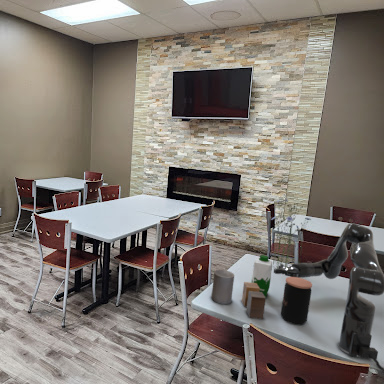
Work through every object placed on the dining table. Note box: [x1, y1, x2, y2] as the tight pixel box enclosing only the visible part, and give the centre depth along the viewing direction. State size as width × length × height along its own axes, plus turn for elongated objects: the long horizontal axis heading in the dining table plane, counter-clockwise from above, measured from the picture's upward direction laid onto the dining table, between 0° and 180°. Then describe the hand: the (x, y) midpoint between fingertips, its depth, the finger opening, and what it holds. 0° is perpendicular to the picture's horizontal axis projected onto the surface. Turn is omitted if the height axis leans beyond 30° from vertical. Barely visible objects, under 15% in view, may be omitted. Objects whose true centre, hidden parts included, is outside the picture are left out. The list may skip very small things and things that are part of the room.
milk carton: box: [251, 254, 273, 299], centre depth 174 cm, size 9×9×20 cm
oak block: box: [241, 281, 260, 308], centre depth 163 cm, size 6×6×10 cm
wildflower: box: [270, 198, 312, 269], centre depth 207 cm, size 22×23×45 cm
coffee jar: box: [280, 276, 313, 326], centre depth 150 cm, size 11×11×18 cm
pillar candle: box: [211, 269, 235, 305], centre depth 166 cm, size 10×10×15 cm
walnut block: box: [246, 291, 267, 320], centre depth 153 cm, size 6×6×10 cm
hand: (274, 271), depth 175 cm, fingers closed
